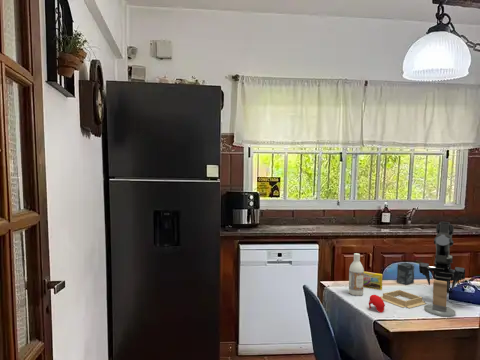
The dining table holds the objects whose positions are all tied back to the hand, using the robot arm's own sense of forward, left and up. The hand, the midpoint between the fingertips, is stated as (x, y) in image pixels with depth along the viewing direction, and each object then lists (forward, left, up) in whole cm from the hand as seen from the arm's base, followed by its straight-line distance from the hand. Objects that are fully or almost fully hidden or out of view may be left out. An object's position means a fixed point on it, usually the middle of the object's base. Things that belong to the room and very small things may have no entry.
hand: (440, 286), depth 163 cm
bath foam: (+32, -19, -9) cm, 38 cm away
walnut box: (+5, +6, -8) cm, 11 cm away
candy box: (+22, -29, -9) cm, 37 cm away
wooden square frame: (+14, -8, -9) cm, 18 cm away
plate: (+5, +6, -9) cm, 12 cm away
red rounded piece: (+32, +2, -9) cm, 33 cm away
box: (-4, -35, -9) cm, 36 cm away
